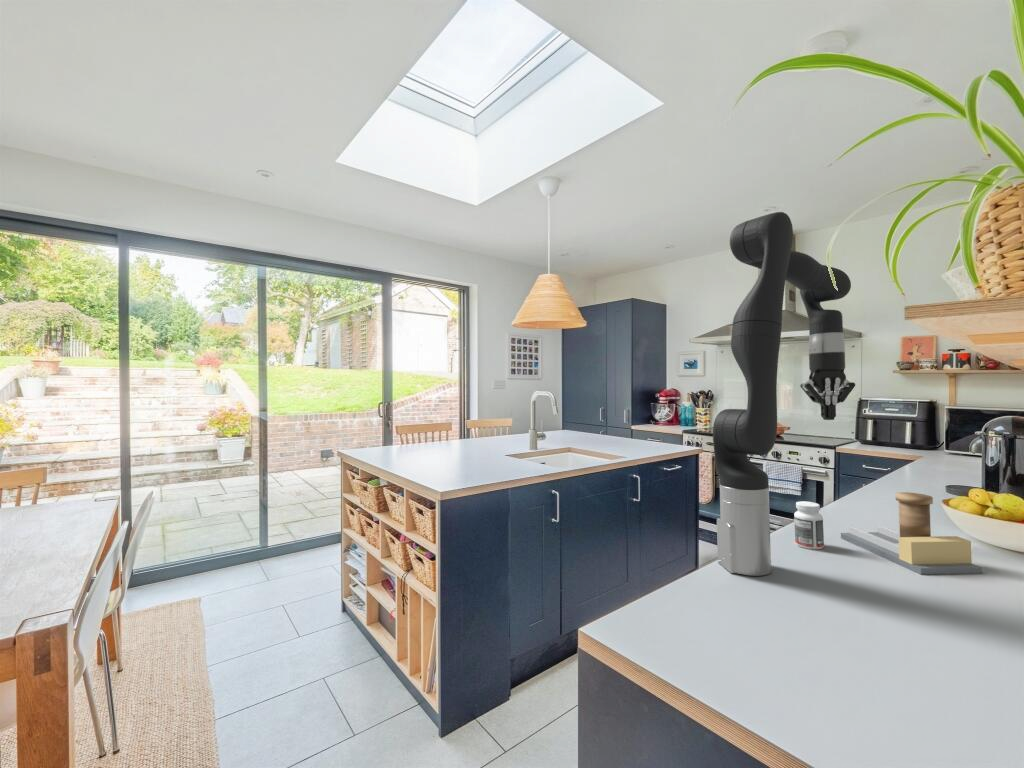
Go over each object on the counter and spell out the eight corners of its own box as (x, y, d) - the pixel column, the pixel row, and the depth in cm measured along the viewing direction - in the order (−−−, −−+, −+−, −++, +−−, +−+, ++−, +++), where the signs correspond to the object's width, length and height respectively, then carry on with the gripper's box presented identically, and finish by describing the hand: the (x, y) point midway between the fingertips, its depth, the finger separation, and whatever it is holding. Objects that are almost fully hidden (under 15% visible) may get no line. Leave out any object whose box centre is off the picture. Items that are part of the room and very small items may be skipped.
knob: (913, 557, 94) (911, 499, 94) (890, 547, 100) (888, 492, 100) (942, 557, 94) (940, 498, 94) (917, 547, 100) (915, 492, 100)
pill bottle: (815, 541, 109) (814, 500, 109) (829, 550, 103) (828, 506, 103) (790, 541, 109) (789, 500, 110) (803, 550, 104) (801, 506, 104)
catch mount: (921, 574, 89) (919, 545, 89) (840, 537, 111) (840, 514, 111) (982, 573, 89) (981, 544, 89) (889, 536, 111) (889, 513, 111)
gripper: (809, 351, 111) (812, 421, 111) (863, 349, 111) (866, 420, 111) (791, 353, 119) (793, 419, 118) (841, 352, 118) (844, 418, 118)
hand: (828, 419), depth 115 cm, fingers closed
